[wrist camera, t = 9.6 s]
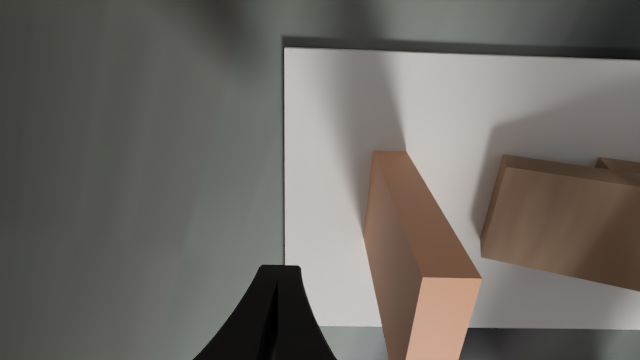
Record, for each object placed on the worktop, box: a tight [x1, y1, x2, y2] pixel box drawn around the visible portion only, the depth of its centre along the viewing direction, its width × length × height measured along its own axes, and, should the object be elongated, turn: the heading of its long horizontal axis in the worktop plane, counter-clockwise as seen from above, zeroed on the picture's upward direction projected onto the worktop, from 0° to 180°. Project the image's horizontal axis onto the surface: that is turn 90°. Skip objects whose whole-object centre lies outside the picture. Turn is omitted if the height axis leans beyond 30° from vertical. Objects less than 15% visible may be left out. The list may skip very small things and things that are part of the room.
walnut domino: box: [480, 154, 640, 292], centre depth 18 cm, size 2×5×9 cm
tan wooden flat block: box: [363, 150, 482, 360], centre depth 15 cm, size 2×5×9 cm, turn 178°
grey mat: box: [284, 47, 640, 330], centre depth 20 cm, size 16×30×1 cm, turn 88°
